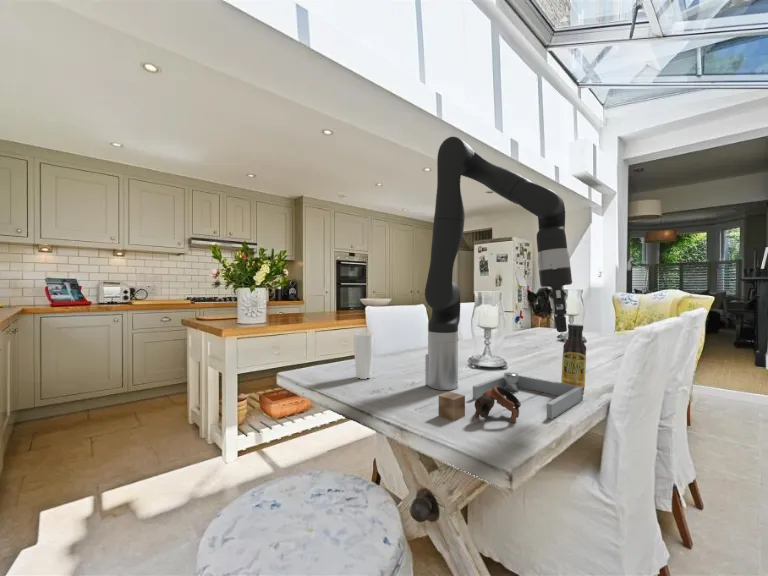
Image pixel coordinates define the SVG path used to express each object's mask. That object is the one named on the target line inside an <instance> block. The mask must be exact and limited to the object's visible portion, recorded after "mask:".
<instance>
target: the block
mask: <svg viewBox="0 0 768 576" xmlns="http://www.w3.org/2000/svg"><path fill="white" fill-rule="evenodd" d="M438 417H440V418H444V419H447V420H450V421H453V422H455V421H457V420H459V419H462V418H463V417H466V395H464V394H460V393H457V392H456V393H455V392H451V391H448V392H444V393H442V394H439V395H438Z"/></svg>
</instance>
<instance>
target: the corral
mask: <svg viewBox="0 0 768 576" xmlns="http://www.w3.org/2000/svg"><path fill="white" fill-rule="evenodd" d="M494 386H499V387H502V388H504V374H503V375H501V376H500V375H499V376H498V377H495V378H492V379H489V380H487V381H483V382H482V383H478V384H475V385H472V399H473V400H475V401H476V400H477V398H479V397H480V396H481V395H482V394H483V393H484V392H485V391H487V390H491V389H493V387H494ZM520 387H521V389H525V388H526V389H525V390H529V389H531V390H530V391H534V390H536V391H535V392H539V391H541V392H540V393H543V392H544V393H543V394H548V393H549V395H552V396H557V397H555V398H554V399H552V400H550V401H548V402H547V403H546V419H548V418H550V419H549V420H553V419H555V418H556V417H558V416H559V414H560V415H561V414H563V413H564V412H566V411H567V410H569V409H570V408H572V407H574V406H575V405H576V404H578V403H580V402H581V401H583V400H584V399H583V398H584V392H583V387H581V386H575V385H570V384H565V383H561V382H557V381H555V380H554V381H553V380H547V379H542V378H538V377H537V378H536V377H532V376H527V375H522V374H518V388H520ZM554 417H555V418H554Z"/></svg>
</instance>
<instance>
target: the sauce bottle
mask: <svg viewBox="0 0 768 576" xmlns="http://www.w3.org/2000/svg"><path fill="white" fill-rule="evenodd" d="M567 330H568V331H567V332H568V335H567V339H566V341H565V343H564V344H563V346H562V347H563V350H562V351H563V352H562V360H561V362H562V363H561V382H560V383H565V384H570V385H575V386H581V387H583V393H584V392H585V387H586V370H587V369H586V368H587V346H586V344H585V343H584V341H583V331H584V325H583V324H577V323H568V325H567Z"/></svg>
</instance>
